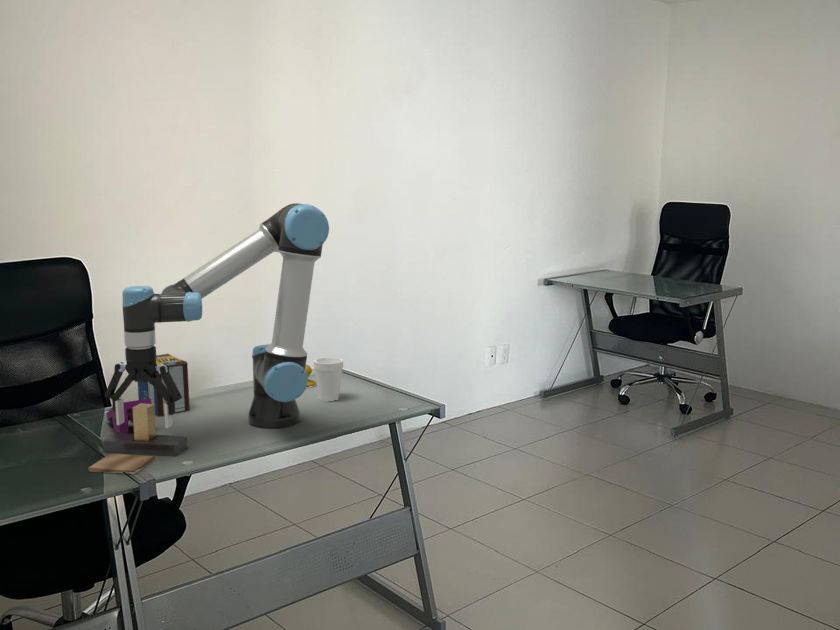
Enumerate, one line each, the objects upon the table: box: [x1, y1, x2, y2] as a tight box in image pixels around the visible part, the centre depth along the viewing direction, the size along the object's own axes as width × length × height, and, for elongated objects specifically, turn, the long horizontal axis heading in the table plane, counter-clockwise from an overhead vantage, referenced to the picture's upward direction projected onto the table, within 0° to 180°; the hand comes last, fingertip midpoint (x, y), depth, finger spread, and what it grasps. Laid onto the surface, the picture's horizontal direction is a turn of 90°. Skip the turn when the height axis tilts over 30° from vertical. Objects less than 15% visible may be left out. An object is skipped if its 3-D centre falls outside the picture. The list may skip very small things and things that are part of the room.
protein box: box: [137, 353, 191, 417], centre depth 240 cm, size 10×15×16 cm
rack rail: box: [102, 432, 188, 457], centre depth 204 cm, size 20×7×3 cm, turn 81°
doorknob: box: [305, 364, 317, 387], centre depth 269 cm, size 8×8×8 cm
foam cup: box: [313, 356, 344, 402], centre depth 252 cm, size 10×9×13 cm
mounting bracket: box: [106, 398, 152, 434], centre depth 222 cm, size 9×8×18 cm
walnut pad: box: [87, 453, 155, 473], centre depth 192 cm, size 12×10×1 cm
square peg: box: [132, 403, 157, 442], centre depth 203 cm, size 4×4×12 cm
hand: (144, 425), depth 203 cm, fingers open, 13 cm apart
